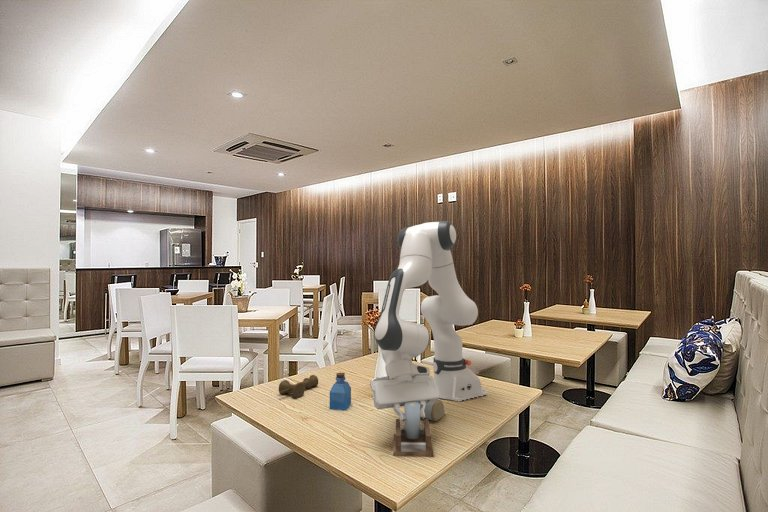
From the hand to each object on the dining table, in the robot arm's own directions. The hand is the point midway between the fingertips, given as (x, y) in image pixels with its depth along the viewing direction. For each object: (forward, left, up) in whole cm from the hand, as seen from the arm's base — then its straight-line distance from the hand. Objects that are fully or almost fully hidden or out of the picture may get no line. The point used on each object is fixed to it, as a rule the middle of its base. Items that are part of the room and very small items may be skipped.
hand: (413, 419), depth 109 cm
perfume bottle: (+14, -37, -8) cm, 40 cm away
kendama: (+27, -57, -8) cm, 63 cm away
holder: (0, -1, -8) cm, 8 cm away
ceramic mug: (-14, -18, -8) cm, 24 cm away
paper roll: (0, -1, -5) cm, 5 cm away
